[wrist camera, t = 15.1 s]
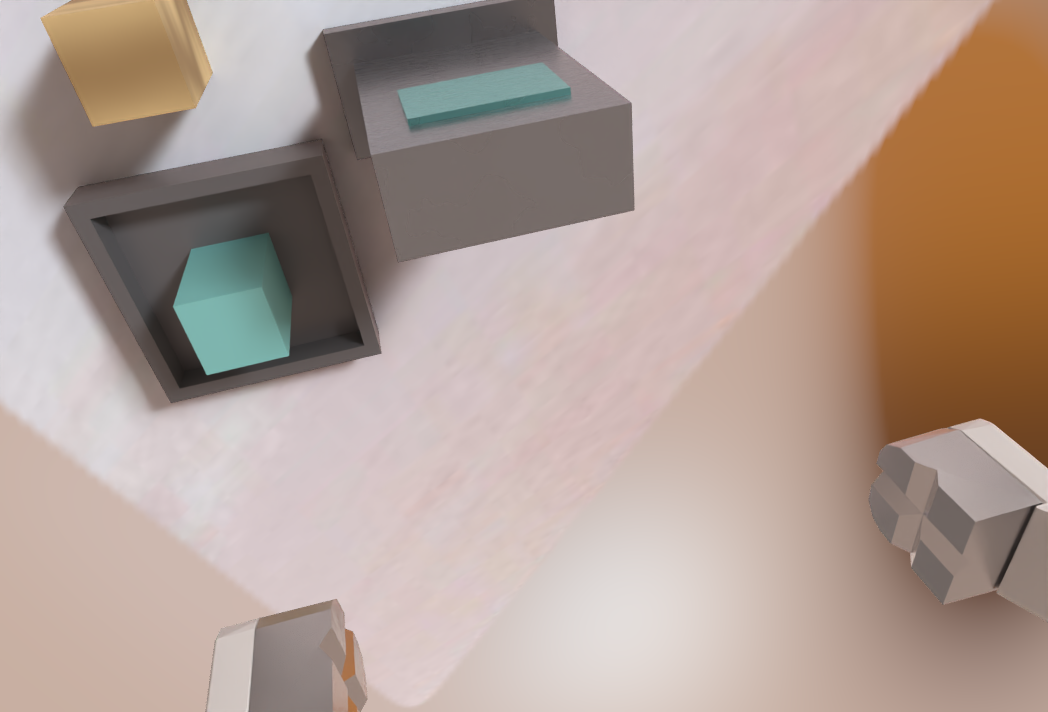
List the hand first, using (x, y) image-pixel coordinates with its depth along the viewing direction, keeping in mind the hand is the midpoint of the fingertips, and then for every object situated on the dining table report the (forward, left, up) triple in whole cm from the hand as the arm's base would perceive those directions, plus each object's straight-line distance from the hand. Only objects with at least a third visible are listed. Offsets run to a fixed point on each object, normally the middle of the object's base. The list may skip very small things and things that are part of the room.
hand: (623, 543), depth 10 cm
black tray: (+9, -11, -31) cm, 34 cm away
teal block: (+9, -11, -30) cm, 33 cm away
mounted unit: (+1, +2, -31) cm, 31 cm away
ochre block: (-3, -11, -31) cm, 33 cm away
